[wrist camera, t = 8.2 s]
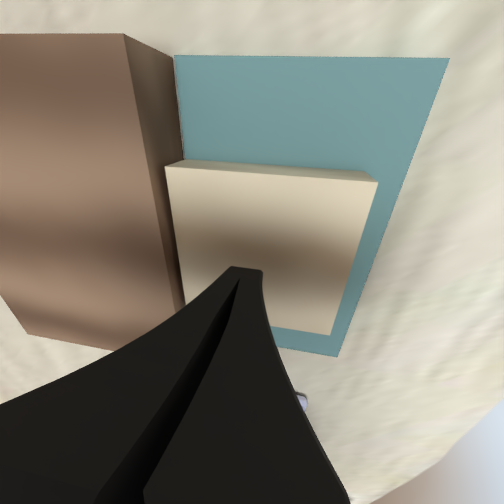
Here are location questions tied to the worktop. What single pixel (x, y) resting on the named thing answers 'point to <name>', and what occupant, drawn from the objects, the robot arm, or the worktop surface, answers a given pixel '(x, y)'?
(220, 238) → the cream square slab
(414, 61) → the rubber mat
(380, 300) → the worktop surface
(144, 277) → the walnut board
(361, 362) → the worktop surface
